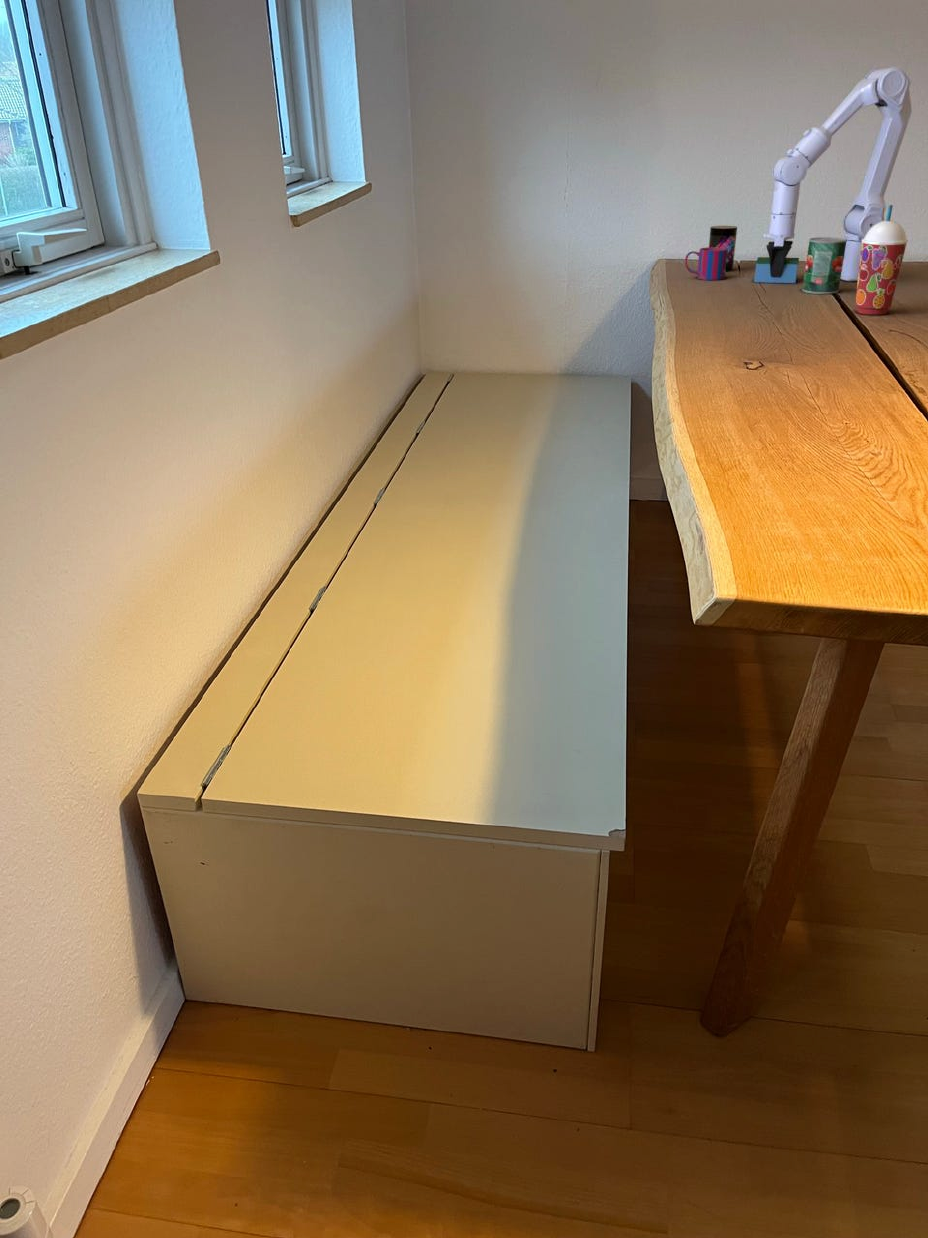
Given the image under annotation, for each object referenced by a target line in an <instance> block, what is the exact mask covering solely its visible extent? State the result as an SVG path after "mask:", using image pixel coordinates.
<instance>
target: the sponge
mask: <svg viewBox="0 0 928 1238" xmlns="http://www.w3.org/2000/svg"><path fill="white" fill-rule="evenodd" d="M799 261H800V257H786V259H785V262H784V265H783V269H782V272H781V275H780V277H771V274H770V259H769V256H758V257H757V258H756V261H755V262H756V264H755V272H754V278H753V279H754V280H753V283H768V284H769V283H772V284H773V283H774V284H776V283H778V284H796V282H797V276H798V269H799Z"/></svg>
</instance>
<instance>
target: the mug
mask: <svg viewBox="0 0 928 1238" xmlns="http://www.w3.org/2000/svg"><path fill="white" fill-rule="evenodd" d="M727 251H728V249H727V248H719V247H709V246H707V247H701V248H699V251H695V250H694V251H689V252H688V253H687V254H686V255H685V258H684V266H685V268H686V270H687V271H688V272H689V273H691V274H694V275H696V278H697V279H699V280H703V281H720V280H725V278H726V271H725V270H726V261H727ZM691 254H695V255H696V256H698V260H697V261H698V262H697V270H692V269H691V268H689V266H688V258H689V256H690V255H691Z"/></svg>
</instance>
